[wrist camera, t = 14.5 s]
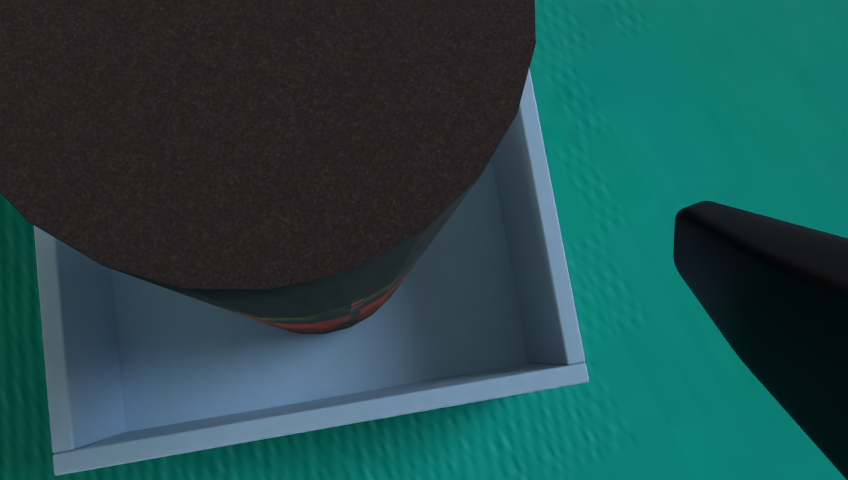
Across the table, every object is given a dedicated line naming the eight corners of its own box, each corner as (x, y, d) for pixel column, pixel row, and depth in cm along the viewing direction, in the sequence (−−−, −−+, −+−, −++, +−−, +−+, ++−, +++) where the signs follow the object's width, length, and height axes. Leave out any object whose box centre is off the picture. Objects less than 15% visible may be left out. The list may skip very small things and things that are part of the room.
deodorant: (175, 252, 21) (-225, 21, 6) (301, 108, 22) (210, -371, 8) (329, 374, 21) (284, 425, 6) (448, 223, 22) (647, -34, 7)
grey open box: (541, 376, 22) (590, 382, 18) (116, 450, 21) (52, 476, 16) (482, 51, 24) (513, -19, 19) (82, 94, 22) (16, 29, 18)
